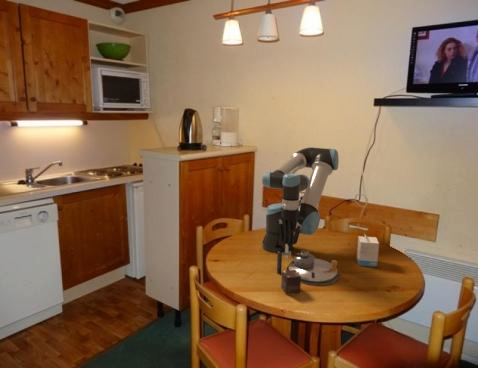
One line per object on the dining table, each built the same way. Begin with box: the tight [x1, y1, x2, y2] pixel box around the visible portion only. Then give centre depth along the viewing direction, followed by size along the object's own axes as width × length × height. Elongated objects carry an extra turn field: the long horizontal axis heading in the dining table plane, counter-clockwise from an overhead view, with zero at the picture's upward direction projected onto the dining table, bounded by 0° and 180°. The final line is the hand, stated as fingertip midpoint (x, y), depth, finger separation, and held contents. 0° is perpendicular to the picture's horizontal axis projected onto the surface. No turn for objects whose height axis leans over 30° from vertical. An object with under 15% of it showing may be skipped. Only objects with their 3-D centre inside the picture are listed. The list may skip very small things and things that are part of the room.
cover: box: [293, 250, 316, 269], centre depth 155 cm, size 9×9×6 cm
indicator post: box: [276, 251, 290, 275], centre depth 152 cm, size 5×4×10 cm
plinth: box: [285, 265, 340, 287], centre depth 154 cm, size 23×23×1 cm
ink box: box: [356, 233, 380, 268], centre depth 164 cm, size 9×8×13 cm
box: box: [280, 270, 302, 296], centre depth 138 cm, size 6×6×7 cm
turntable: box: [288, 258, 338, 283], centre depth 153 cm, size 21×21×6 cm
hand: (287, 257), depth 161 cm, fingers closed
